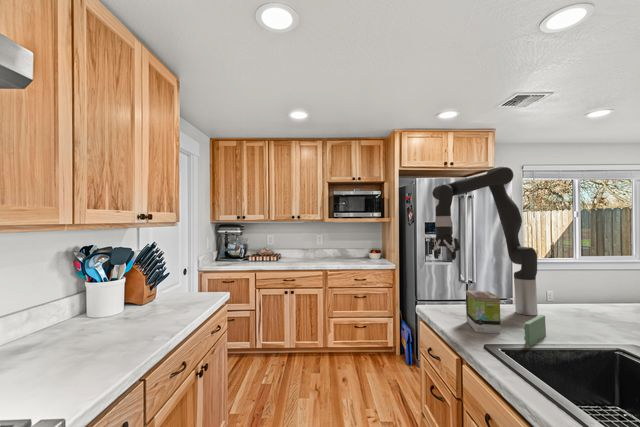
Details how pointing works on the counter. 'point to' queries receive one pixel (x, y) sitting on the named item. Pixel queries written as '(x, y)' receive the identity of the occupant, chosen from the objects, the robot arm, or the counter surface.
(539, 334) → the bracket
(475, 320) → the tea box
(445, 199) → the robot arm
